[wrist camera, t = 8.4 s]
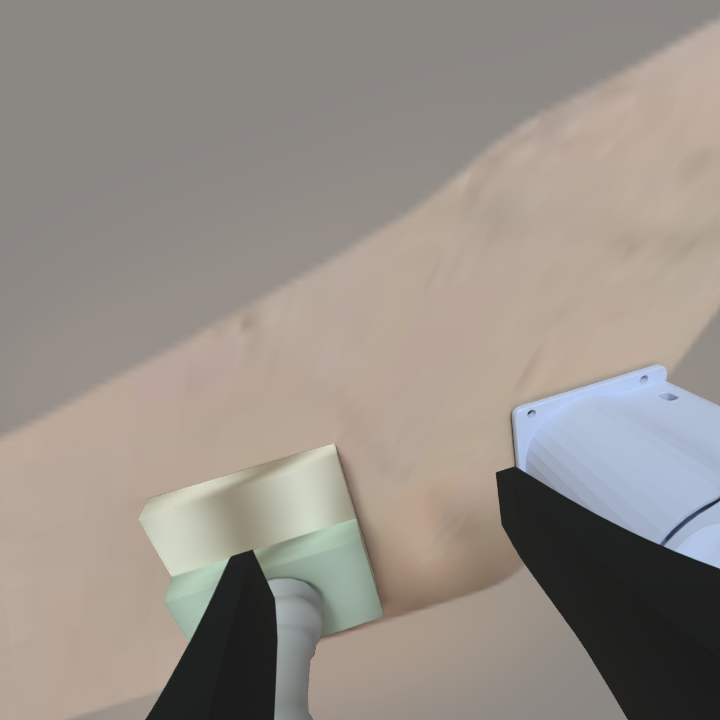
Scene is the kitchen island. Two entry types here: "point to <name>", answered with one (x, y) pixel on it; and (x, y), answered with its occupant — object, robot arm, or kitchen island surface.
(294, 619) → the rook chess piece
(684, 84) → the kitchen island surface
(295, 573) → the stepped riser
